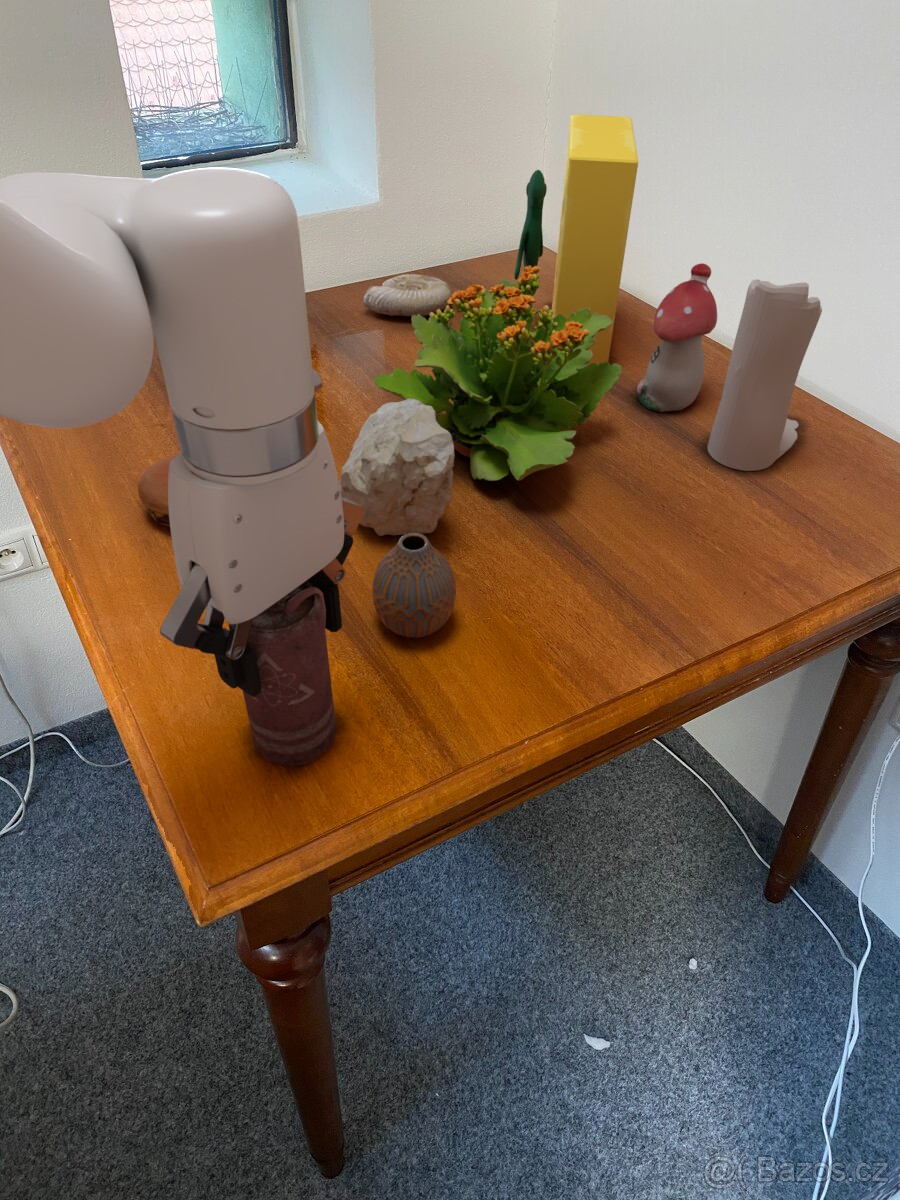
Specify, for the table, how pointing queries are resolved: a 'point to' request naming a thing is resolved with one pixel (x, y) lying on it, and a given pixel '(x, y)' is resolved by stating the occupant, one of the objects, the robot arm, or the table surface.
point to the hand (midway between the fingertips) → (283, 651)
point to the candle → (763, 376)
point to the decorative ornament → (679, 344)
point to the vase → (414, 588)
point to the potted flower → (507, 377)
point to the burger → (156, 490)
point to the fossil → (408, 296)
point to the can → (292, 680)
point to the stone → (400, 469)
